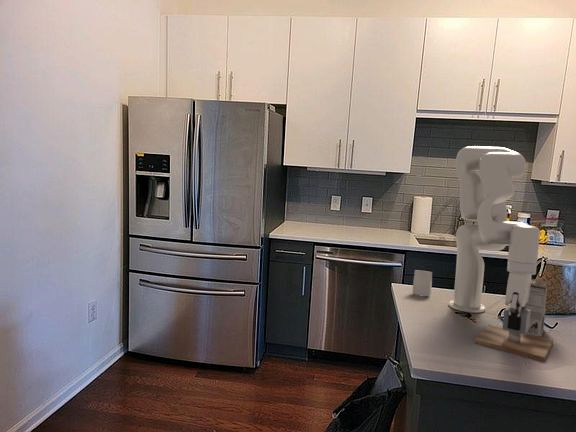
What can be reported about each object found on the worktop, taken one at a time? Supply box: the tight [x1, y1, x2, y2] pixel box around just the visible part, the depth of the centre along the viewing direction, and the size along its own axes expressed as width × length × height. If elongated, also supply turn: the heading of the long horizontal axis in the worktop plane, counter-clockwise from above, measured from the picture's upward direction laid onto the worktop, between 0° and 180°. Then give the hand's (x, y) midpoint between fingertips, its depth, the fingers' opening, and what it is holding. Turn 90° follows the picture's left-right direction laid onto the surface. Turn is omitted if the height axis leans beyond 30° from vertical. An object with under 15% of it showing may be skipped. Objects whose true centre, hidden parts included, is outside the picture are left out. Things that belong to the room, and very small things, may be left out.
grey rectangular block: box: [412, 269, 433, 298], centre depth 175 cm, size 4×7×10 cm, turn 63°
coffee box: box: [526, 278, 549, 337], centre depth 138 cm, size 9×6×16 cm
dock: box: [474, 324, 554, 362], centre depth 128 cm, size 16×18×5 cm
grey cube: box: [502, 304, 531, 335], centre depth 127 cm, size 6×6×6 cm
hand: (516, 325), depth 127 cm, fingers closed on grey cube, 6 cm apart
